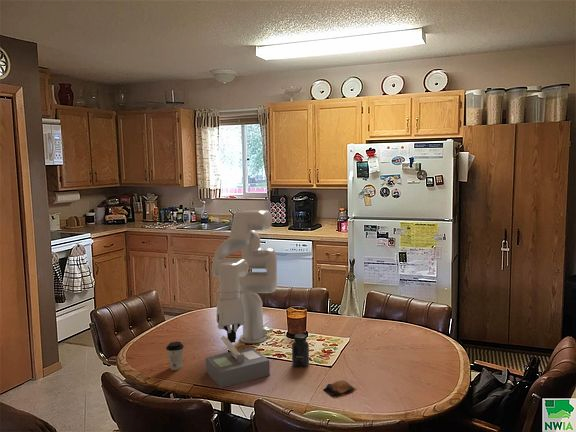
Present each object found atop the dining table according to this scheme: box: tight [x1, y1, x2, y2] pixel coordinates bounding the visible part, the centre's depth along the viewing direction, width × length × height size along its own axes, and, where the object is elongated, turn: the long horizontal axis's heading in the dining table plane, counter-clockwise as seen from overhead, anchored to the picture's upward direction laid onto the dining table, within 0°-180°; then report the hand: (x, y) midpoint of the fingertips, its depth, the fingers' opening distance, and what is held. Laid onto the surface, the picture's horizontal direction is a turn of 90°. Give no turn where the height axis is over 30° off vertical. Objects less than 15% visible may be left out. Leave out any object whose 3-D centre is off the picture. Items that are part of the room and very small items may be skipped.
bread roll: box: [322, 379, 358, 398], centre depth 174 cm, size 11×8×4 cm
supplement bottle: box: [291, 333, 310, 368], centre depth 196 cm, size 7×7×12 cm
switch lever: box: [220, 335, 240, 359], centre depth 188 cm, size 2×5×10 cm
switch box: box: [205, 346, 271, 389], centre depth 189 cm, size 20×16×9 cm
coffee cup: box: [165, 341, 184, 371], centre depth 197 cm, size 7×7×10 cm
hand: (231, 341), depth 187 cm, fingers closed
